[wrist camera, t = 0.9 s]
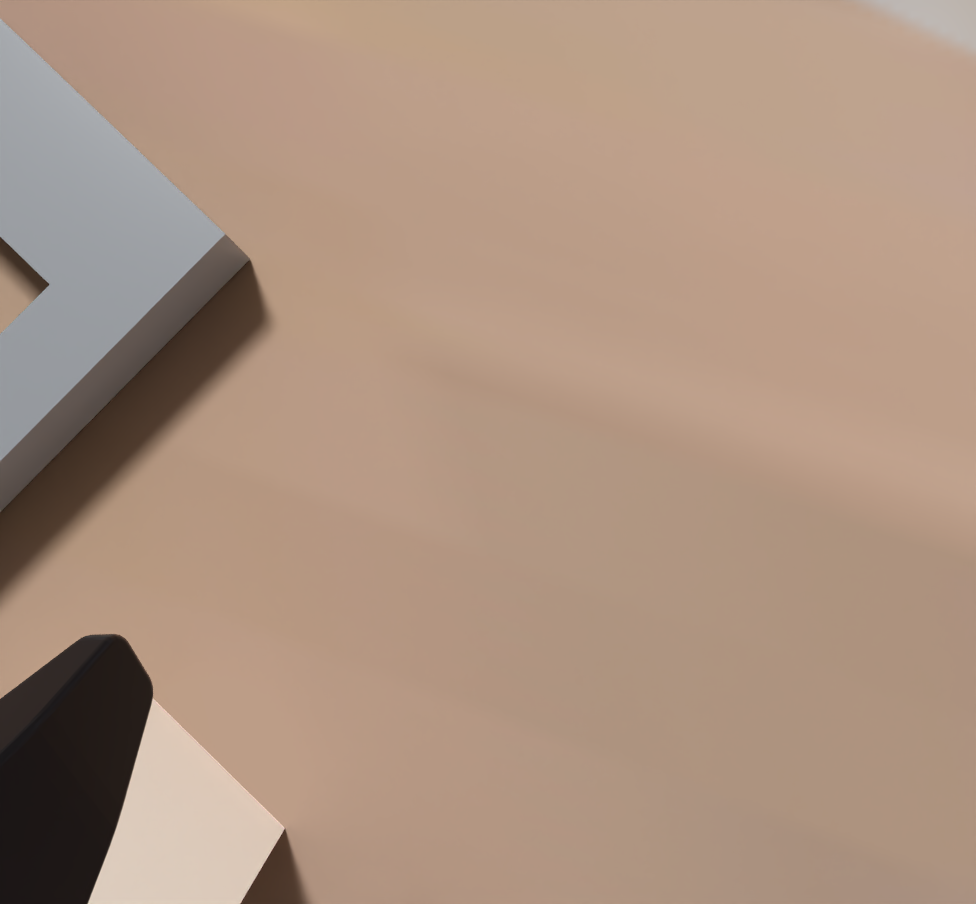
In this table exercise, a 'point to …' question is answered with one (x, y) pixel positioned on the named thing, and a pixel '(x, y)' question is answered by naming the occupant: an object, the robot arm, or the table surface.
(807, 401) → the table surface
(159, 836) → the plug
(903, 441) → the table surface
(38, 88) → the gray block with hole
